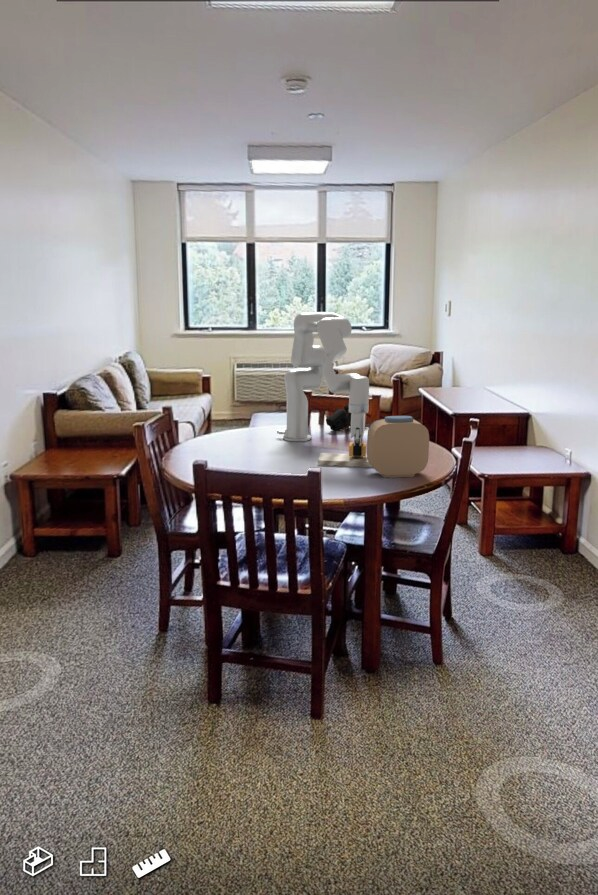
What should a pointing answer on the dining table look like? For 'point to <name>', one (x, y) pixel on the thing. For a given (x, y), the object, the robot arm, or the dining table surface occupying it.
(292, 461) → the dining table surface
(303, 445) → the dining table surface
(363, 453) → the orange square frame
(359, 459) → the peg board
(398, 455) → the alarm clock
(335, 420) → the tool
